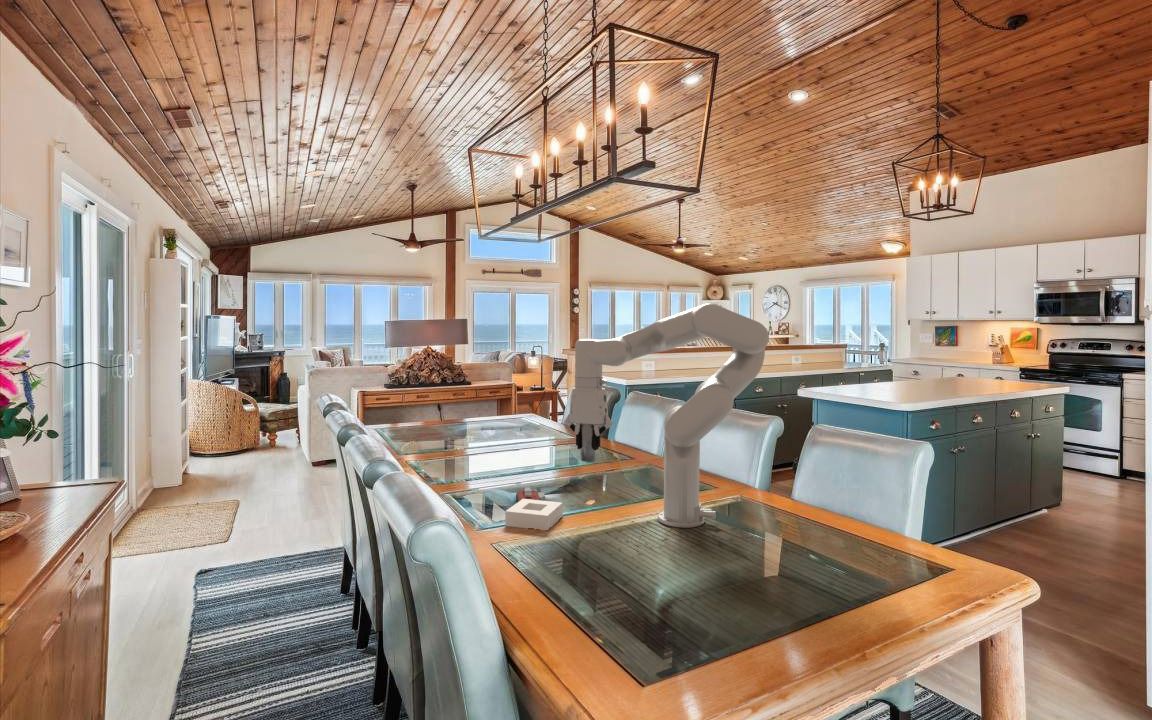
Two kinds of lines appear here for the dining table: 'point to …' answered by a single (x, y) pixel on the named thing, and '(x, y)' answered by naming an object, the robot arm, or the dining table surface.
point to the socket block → (534, 514)
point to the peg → (587, 442)
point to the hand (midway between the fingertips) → (588, 448)
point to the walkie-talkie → (530, 494)
